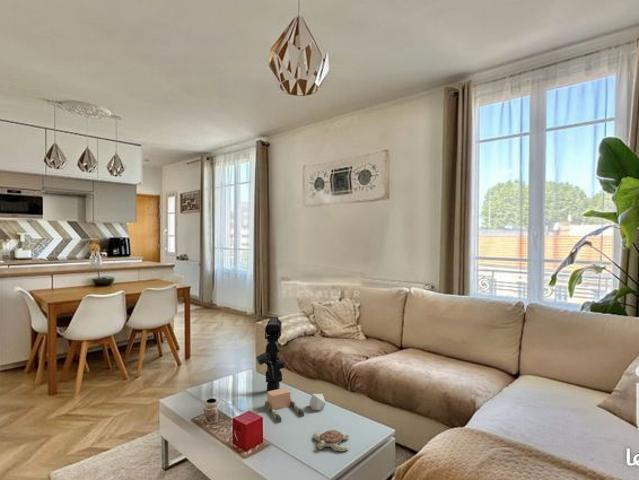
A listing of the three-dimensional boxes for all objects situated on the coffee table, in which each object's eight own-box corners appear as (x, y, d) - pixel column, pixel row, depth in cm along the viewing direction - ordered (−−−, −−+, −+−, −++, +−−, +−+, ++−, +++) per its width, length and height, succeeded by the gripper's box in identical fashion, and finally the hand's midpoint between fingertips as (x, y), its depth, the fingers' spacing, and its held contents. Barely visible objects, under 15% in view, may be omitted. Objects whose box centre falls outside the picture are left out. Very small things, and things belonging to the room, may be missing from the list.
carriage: (267, 405, 188) (267, 391, 188) (285, 401, 193) (285, 387, 193) (271, 410, 183) (271, 396, 183) (290, 405, 188) (290, 392, 188)
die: (319, 417, 180) (330, 399, 183) (304, 407, 181) (315, 389, 184) (319, 415, 188) (329, 398, 190) (305, 406, 189) (315, 388, 192)
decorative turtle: (302, 443, 157) (302, 431, 157) (327, 428, 169) (327, 417, 169) (334, 461, 145) (334, 448, 145) (359, 443, 157) (360, 432, 157)
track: (264, 408, 187) (264, 401, 187) (287, 403, 194) (287, 396, 194) (279, 425, 171) (279, 418, 171) (304, 419, 177) (304, 411, 177)
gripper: (252, 345, 199) (252, 374, 199) (264, 355, 183) (264, 386, 183) (271, 342, 204) (271, 370, 205) (285, 351, 188) (285, 382, 188)
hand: (272, 377), depth 195 cm, fingers open, 5 cm apart
